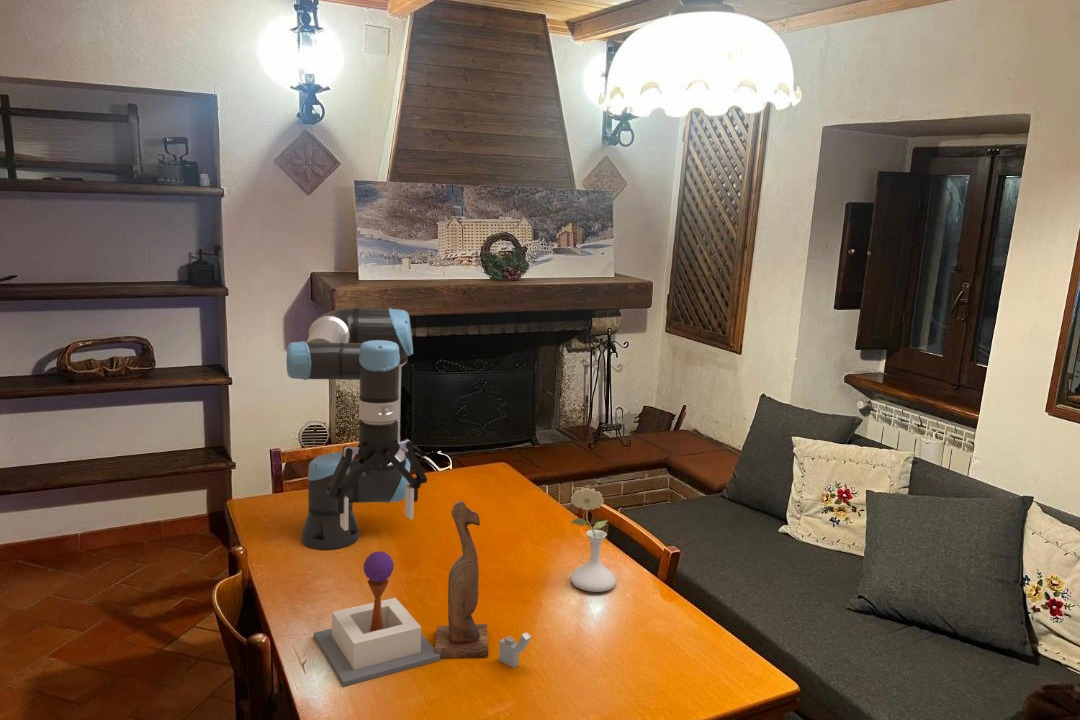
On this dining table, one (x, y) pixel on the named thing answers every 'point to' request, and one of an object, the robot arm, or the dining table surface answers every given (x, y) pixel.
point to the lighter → (512, 649)
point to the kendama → (378, 582)
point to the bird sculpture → (463, 597)
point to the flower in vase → (592, 547)
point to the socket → (374, 643)
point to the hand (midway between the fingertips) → (377, 522)
